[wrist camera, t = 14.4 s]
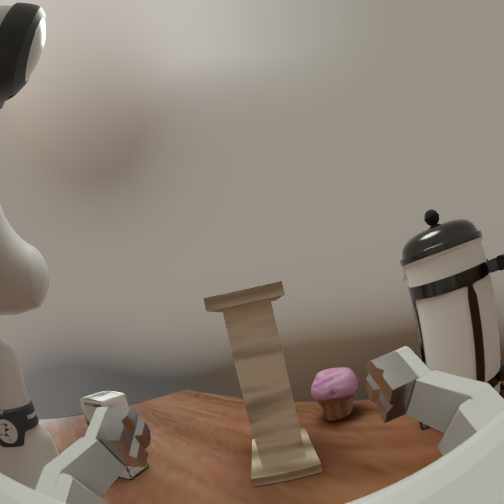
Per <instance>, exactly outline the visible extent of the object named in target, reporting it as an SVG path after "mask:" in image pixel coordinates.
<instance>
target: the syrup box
mask: <svg viewBox="0 0 504 504" xmlns="http://www.w3.org/2000/svg"><path fill="white" fill-rule="evenodd" d="M80 403H81V406H82V409H83V413H84V416H85V419H86V422H87V425H88V427H89V425H90V422H91V420H92V418H93V415H94V413H95V410H96V409H97V408H98V407H116V408H129V407H128V404H127V400H126V396H125V394H124V393H120V392H114V391H102V392H99V393H96V394H92V395H89V396H86V397H83V398H80ZM148 466H149V465H148V462H146V467H128V466H125V467H126V468H125V469H124V471H123V472H122V473H121V474H120V475H119V477H123V478H127V479H132V478H134V477H135V476H136V475H138V474H139V473H140V472H142V471H143V470H144V469H146V468H147V467H148Z"/></svg>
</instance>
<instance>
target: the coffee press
mask: <svg viewBox="0 0 504 504" xmlns="http://www.w3.org/2000/svg"><path fill="white" fill-rule="evenodd" d="M425 221H426V223H427V224H428V225H430V226H431V227H430V228H429V229H428V230H425V231H423V232H421V233H419V234H418V235H416V236H414V237H413V238H411V239H410V240H409V241H408V242H407V243H406V244H405V246H404V248H403V251H402V260H401V261H400V263H401V266H403V280H404V281H406V280H408V282H409V286H410V287H409V293H410V297H411V300H412V304H413V310H414V315H415V320H416V325H417V331H418V337H419V343H420V349H421V357H422V362H423V363H424V364H425V365H426V366H427V367H428V368H429V369H430V370H431V371H433V370H438V371H441V372H445V373H449V374H453V375H456V376H460V377H464V378H468V379H472V380H477V381H481V382H485V383H488V384H490V385H491V386H492V387H493V388H494V389H495V390H496V391H497V392H498V394H499V395H500V394H501V393H502V392H503V390H504V386H503V385H502V384H501V383H500V381H503V380H504V366H502V363H501V360H500V343H499V330H498V321H497V313H496V306H495V300H494V294H493V288H492V283H491V278H490V274H489V273H490V272H494V271H497V270H503V269H504V254H503V255H499V256H497V258H494V259H492V260H489V261H488V259H486V257H485V254H484V249H483V246H482V233H481V231H478V230H477V228H476V227H475V225H474V224H473V223H472V222H470V221H468V220H463V219H459V220H453V221H449V222H446V223H443V224H437V223H438V221H439V214H438V213H437V212H436V211H434V210H428V211H427V212H426V213H425ZM419 424H420V426H421V428H422V429H426V428H428V427H429V426H428V425H426V424H423V423H422V422H419Z"/></svg>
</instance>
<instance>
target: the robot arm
mask: <svg viewBox="0 0 504 504" xmlns="http://www.w3.org/2000/svg"><path fill="white" fill-rule="evenodd" d="M45 17H46V16H45V13H44V11H43V9H42V7H40V6H37V5H34V4H28V3H16V4H14V5H13V6H0V109H1V108H2V106H3V104H4V102H5V101H6V100H8V99H10V98H11V97H13V96H15V95H16V94H17V93H18V92H19V91H20V89H22V88H23V86H24V85H25V84H26V83H27V81H28V79H29V77H30V75H31V73H32V72H33V70H34V68H35V67H36V65H37V63H38V61H39V58H40V56H41V53H42V50H43V47H44V43H45V35H46V28H45ZM48 286H49V275H48V270H47V266H46V263H45V261H44V259H43V257H42V255H41V254H40V252H39V251H38V250H37V249H36V248H35V247H33V246H31V245H30V244H28V243H27V242H25V241H24V240H23V239H21V238H20V237H19V236H18V235H17V234H16V232H15V231H14V230H13V229H12V227H11V226H10V224H9V223H8V221H7V219H6V218H5V215H4V213H3V211H2V208H1V205H0V315H14V314H20V313H24V312H27V311H30V310H33V309H36V308H39V307H40V306H41V305H42V303H43V302H44V300H45V298H46V295H47V292H48ZM367 371H368V372H369V375H368V377H367V378H366V389H367V393H368V395H369V398H370V399H371V401H372V402H374V403H376V404H378V407H377V411H378V413H379V414H380V416H381V418H382V419H383V421H384V423H386V422H388V421H390V420H393V419H395V418H397V417H400V416H402V415H404V414H406V415H407V416H409V417H411V418H413V419H415V420H417V421H419V422H422V423H424V424H426V425H428V426H430V427H432V428H434V429H436V430H439V431H441V432H443V433H445V434H444V436H443V438H442V439H441V441H440V443H439V445H438V449H439V450H440V452H441V454H442V455H443V457H441V458H440V459H438V460H436V461H435V462H433V463H431V464H430V465H428V466H426V467H425V468H423V469H421V470H419V471H418V472H416V473H414V474H412V475H410V476H408V477H406V478H404V479H403V480H401V481H399V482H396V483H394V484H392V485H390V486H388V487H386V488H384V489H381V490H379V491H377V492H374V493H372V494H369V495H367V496H364V497H362V498H359V499H356V500H354V501H351V502H348V503H345V504H504V399H503V398H502V397H501V396H500V395H499V394H498V392H497V391H496V390H495V389H494V388H493V387H492V386H491V385H490V384H488V383H485V382H481V381H477V380H472V379H468V378H464V377H460V376H456V375H453V374H449V373H445V372H441V371H438V370H433V371H431V370H430V369H429V368H428V367H427V366H426V365H425V364H424V363H423V362H422V361H421V360H420V359H419V357H418V356H417V355H416V354H415V353H414V352H413V351H412V350H411V349H410V348H409V347H407V346H404V347H402V348H400V349H398V350H396V351H393V352H390V353H388V354H386V355H383V356H381V357H378V358H376V359H373V360H371V361H369V362H368V364H367ZM138 417H139V413H138V412H137V410H136V409H135V408H116V407H98V408H97V409H96V410H95V413H94V415H93V418H92V420H91V422H90V425H89V427H88V430H87V432H86V435H85V437H84V438H82V437H81V438H80V439H79V440H77V441H76V442H75V443H74V444H72V445H71V446H70V447H69V448H67V449H66V450H65V451H64V452H62V453H61V454H60V452H59V450H58V449H57V447H56V445H55V442H54V440H53V438H52V436H51V434H49V433H48V432H47V431H46V430H44V429H43V428H42V427H41V426H40V425H39V424H38V422H39V421H38V418H37V415H36V410H35V408H34V406H33V404H32V402H31V401H30V400H29V397H28V394H27V390H26V386H25V383H24V378H23V374H22V370H21V365H20V361H19V358H18V356H17V354H16V353H15V352H14V350H13V349H12V348H11V347H10V346H9V345H7V344H6V343H4V342H3V341H1V340H0V504H110V503H108V502H106V501H105V500H103V499H102V498H101V497H102V495H103V494H104V493H105V492H106V491H107V490H108V488H109V487H110V486H111V485H112V484H113V483H114V481H115V480H116V479H117V478H118V477H119V475H120V474H121V473H122V472H123V471H124V469H125V468H126V467H125V466H128V467H146V462H147V456H148V453H147V451H146V449H145V448H146V447H147V446H148V445H149V444H150V440H151V436H150V430H149V428H148V425H147V424H146V423H145V421H143V420H141V419H139V418H138Z"/></svg>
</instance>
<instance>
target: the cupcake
mask: <svg viewBox="0 0 504 504" xmlns="http://www.w3.org/2000/svg"><path fill="white" fill-rule="evenodd" d="M357 386H358V381H357V378H356V376H355V374H354V373H353V371H352V370H351V369H349V368H346V367H342V368H331V369H327V370H324V371H321V372H319V373H318V374H317V375H316V378H315V380H314V382H313V384H312V387H311V394H312V396H313V397H314V399H315V400H316V401H318V402H319V404H320V405H321V407H322V409H323V412H324V415H325V418H326V419H327V420H328V421H336V420H339V419H342V418H344V417H347V416H348V415H349V414H350V413H351V412H352V410H353V395H354V392H355V390H356V389H357Z"/></svg>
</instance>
